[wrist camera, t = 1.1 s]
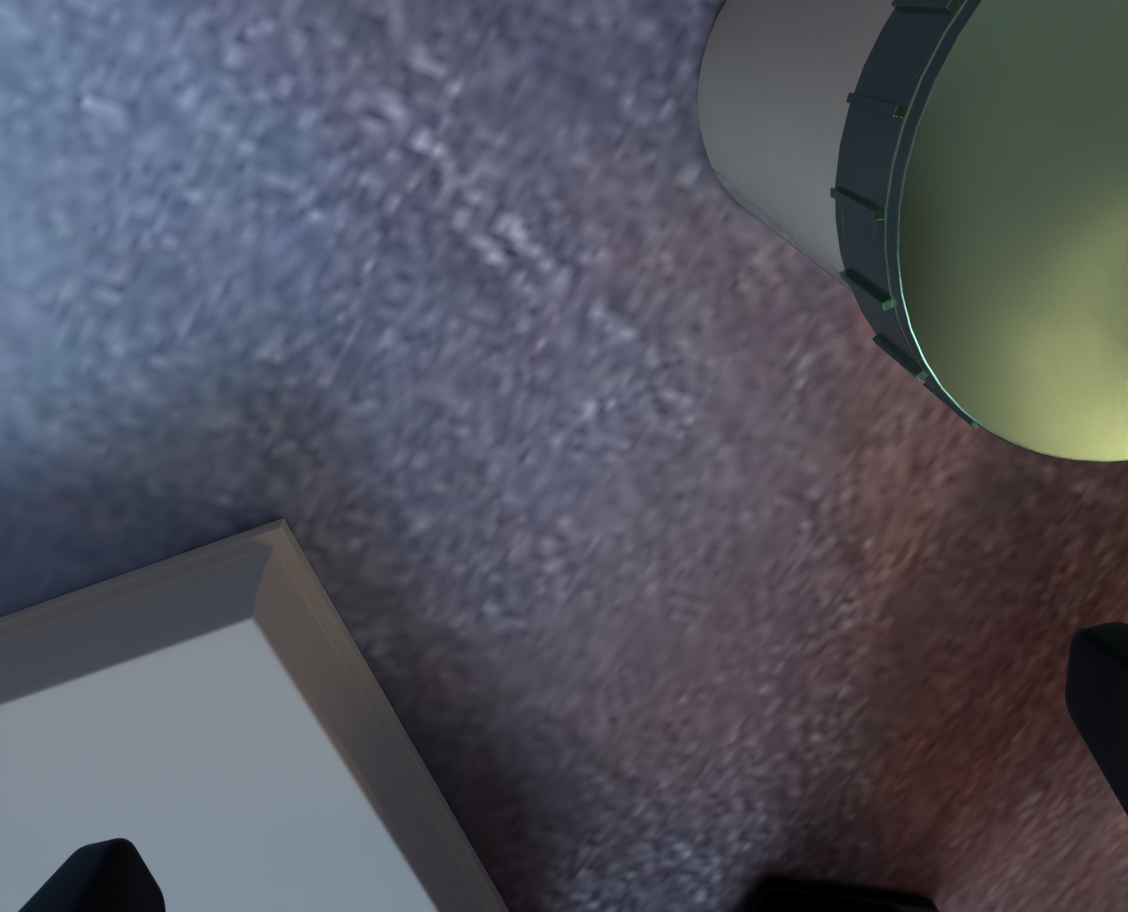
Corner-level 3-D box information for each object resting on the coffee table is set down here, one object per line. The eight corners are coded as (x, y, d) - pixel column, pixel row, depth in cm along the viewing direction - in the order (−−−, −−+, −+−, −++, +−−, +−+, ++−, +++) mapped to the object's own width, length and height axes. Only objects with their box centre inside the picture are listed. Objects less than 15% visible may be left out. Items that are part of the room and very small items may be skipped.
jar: (1025, -76, 17) (1569, -132, 9) (948, 240, 20) (1311, 426, 12) (717, -98, 17) (990, -180, 8) (680, 232, 19) (859, 427, 11)
